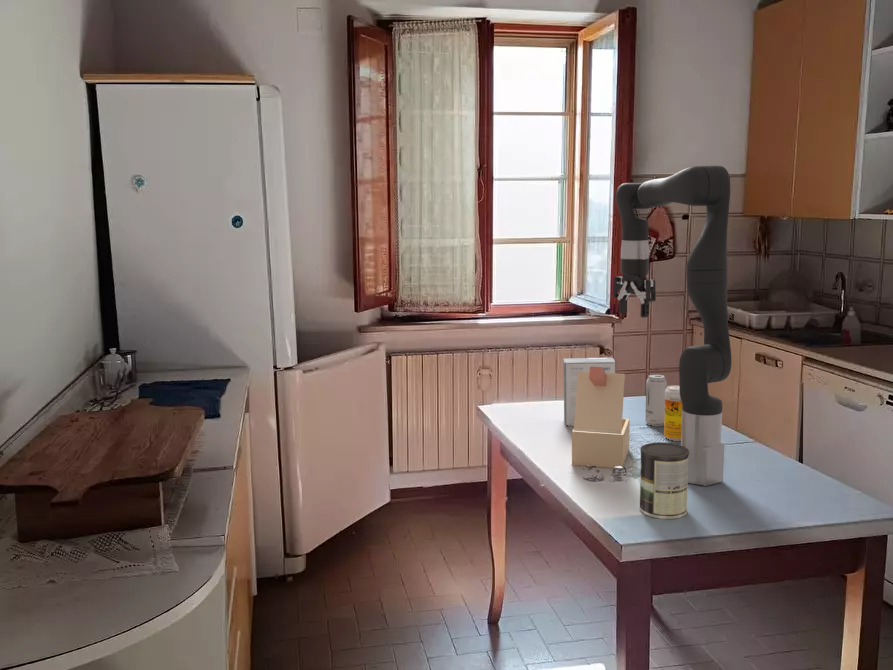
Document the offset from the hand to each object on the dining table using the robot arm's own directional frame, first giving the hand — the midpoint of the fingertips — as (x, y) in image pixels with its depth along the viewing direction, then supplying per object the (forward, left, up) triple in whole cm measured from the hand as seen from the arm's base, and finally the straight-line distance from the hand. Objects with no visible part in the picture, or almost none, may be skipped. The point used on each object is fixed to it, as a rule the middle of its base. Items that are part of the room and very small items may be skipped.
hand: (633, 315), depth 223 cm
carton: (-7, +17, -36) cm, 41 cm away
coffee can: (-43, +30, -36) cm, 64 cm away
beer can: (-5, -12, -36) cm, 39 cm away
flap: (-10, +21, -20) cm, 30 cm away
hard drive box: (+21, -2, -36) cm, 42 cm away
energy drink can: (+9, -18, -36) cm, 42 cm away
